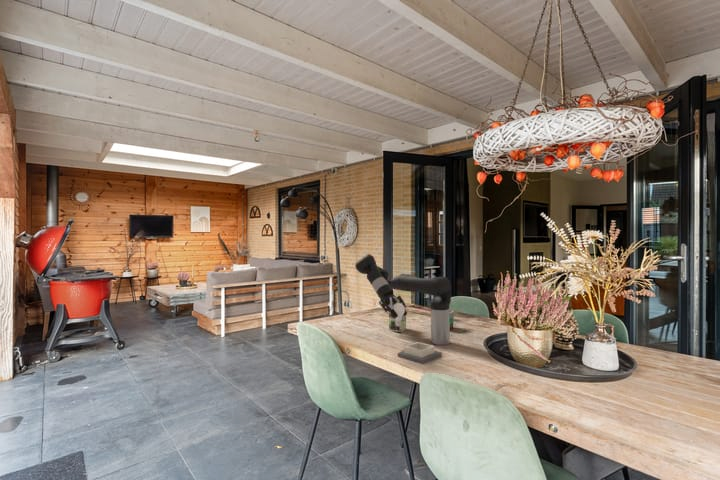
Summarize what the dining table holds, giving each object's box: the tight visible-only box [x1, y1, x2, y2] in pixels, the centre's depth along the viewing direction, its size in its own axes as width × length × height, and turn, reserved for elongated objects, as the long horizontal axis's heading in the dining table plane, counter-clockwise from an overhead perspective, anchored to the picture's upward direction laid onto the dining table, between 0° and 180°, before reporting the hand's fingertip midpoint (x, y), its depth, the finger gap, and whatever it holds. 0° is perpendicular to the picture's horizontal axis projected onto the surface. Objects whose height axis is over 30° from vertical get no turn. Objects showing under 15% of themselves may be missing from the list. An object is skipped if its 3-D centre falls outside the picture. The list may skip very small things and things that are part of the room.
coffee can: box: [388, 304, 407, 333], centre depth 215 cm, size 10×10×14 cm
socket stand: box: [397, 341, 443, 364], centre depth 167 cm, size 14×14×4 cm
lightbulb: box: [392, 303, 405, 327], centre depth 174 cm, size 6×6×11 cm
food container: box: [449, 309, 456, 331], centre depth 214 cm, size 12×6×10 cm, turn 131°
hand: (401, 316), depth 173 cm, fingers closed on lightbulb, 6 cm apart
